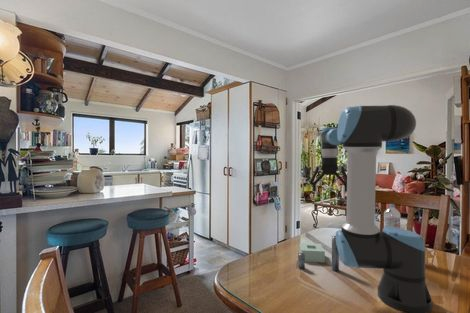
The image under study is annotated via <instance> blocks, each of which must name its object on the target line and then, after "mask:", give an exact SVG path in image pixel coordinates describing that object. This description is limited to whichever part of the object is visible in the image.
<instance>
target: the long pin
mask: <svg viewBox="0 0 470 313" xmlns="http://www.w3.org/2000/svg"><path fill="white" fill-rule="evenodd" d="M331 271H333V272H339V271H340V256H339V253H338V249H337V244H336V235H331Z"/></svg>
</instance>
